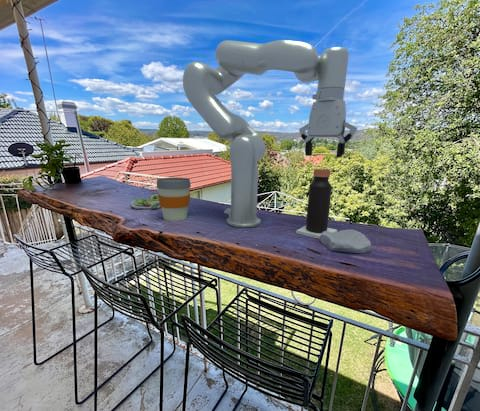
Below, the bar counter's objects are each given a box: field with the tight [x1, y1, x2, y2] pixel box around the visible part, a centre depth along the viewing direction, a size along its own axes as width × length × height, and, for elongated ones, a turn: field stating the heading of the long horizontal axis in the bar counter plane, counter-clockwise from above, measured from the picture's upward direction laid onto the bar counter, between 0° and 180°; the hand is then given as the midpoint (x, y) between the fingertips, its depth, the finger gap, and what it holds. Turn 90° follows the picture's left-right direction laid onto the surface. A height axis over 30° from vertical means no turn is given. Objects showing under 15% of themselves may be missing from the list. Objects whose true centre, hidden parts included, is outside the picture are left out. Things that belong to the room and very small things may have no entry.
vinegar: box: [305, 168, 333, 233], centre depth 78 cm, size 7×7×20 cm
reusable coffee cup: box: [156, 177, 192, 222], centre depth 93 cm, size 13×12×15 cm
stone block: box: [319, 229, 372, 254], centre depth 69 cm, size 12×5×10 cm
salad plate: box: [130, 193, 162, 210], centre depth 112 cm, size 19×18×5 cm
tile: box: [295, 225, 338, 240], centre depth 80 cm, size 10×10×1 cm
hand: (323, 156), depth 75 cm, fingers open, 9 cm apart
